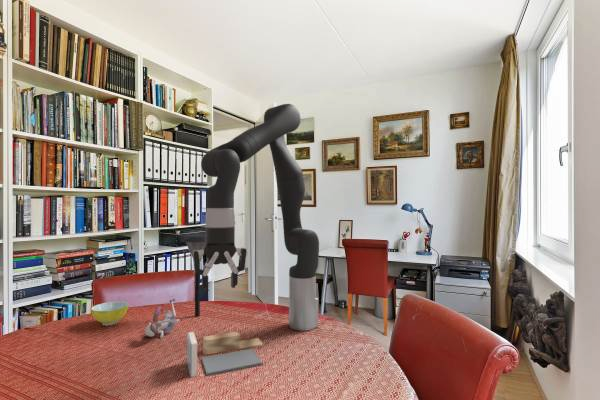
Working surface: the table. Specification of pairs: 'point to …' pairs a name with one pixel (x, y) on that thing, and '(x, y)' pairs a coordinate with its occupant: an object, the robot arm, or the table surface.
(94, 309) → the bowl
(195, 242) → the solar garden light
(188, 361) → the tile
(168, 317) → the figurine
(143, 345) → the table surface
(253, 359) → the mat
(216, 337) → the beige wooden bar
